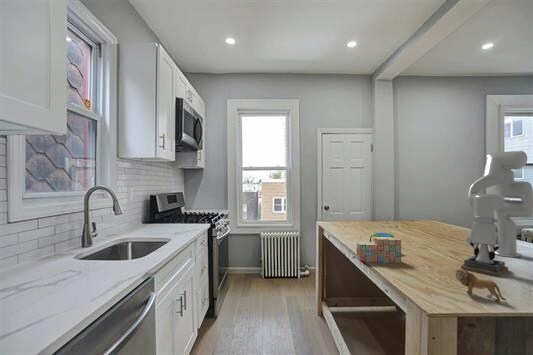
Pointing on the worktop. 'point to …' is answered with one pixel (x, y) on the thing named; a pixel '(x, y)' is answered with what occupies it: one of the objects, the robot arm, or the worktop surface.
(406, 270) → the worktop surface
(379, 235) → the snack cup
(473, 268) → the board
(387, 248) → the stack of blocks
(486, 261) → the flask
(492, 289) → the lion figurine
